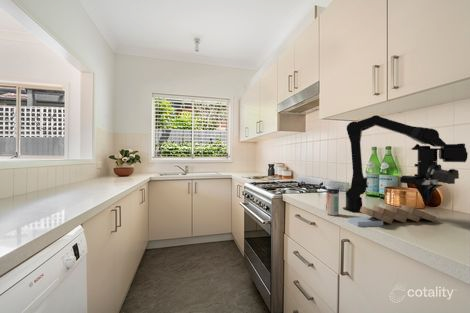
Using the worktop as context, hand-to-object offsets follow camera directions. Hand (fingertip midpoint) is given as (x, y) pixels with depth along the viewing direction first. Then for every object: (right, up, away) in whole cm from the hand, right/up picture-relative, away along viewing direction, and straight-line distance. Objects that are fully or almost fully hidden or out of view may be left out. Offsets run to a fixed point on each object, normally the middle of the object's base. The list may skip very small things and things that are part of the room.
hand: (426, 201), depth 83 cm
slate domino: (-22, -6, -5) cm, 23 cm away
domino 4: (+1, -6, 0) cm, 6 cm away
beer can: (-34, -7, +6) cm, 35 cm away
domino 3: (-6, -6, -1) cm, 8 cm away
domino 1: (-18, -6, -4) cm, 20 cm away
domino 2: (-12, -6, -2) cm, 13 cm away
